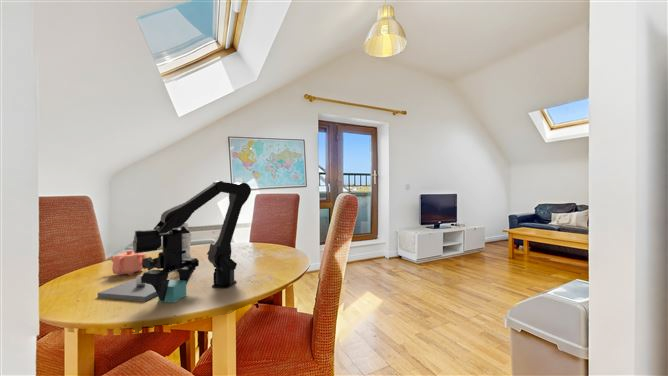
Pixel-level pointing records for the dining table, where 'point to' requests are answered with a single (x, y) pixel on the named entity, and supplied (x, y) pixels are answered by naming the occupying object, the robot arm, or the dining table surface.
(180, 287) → the turquoise cube
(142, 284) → the silver cabinet knob
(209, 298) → the dining table surface
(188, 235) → the plastic bottle
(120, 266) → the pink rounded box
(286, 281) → the dining table surface
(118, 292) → the base plate
